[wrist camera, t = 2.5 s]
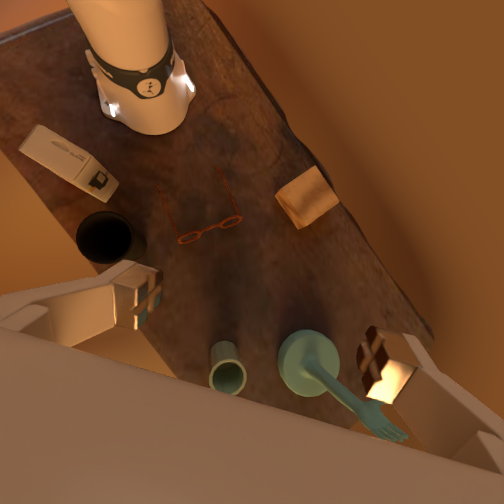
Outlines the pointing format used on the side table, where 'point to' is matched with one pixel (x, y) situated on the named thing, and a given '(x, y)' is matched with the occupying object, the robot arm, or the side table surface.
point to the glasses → (209, 226)
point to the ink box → (69, 162)
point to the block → (306, 197)
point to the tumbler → (226, 368)
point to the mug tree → (327, 379)
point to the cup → (109, 238)
